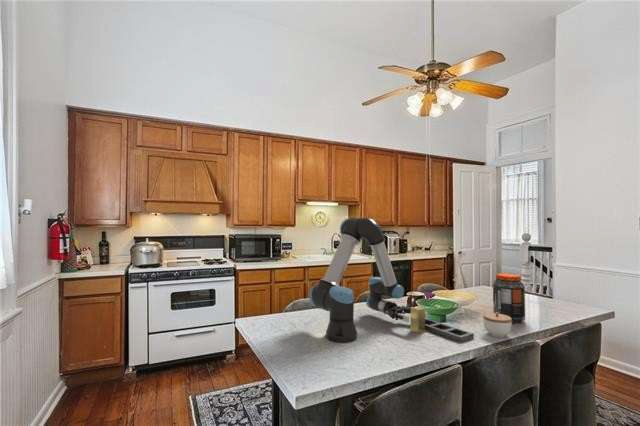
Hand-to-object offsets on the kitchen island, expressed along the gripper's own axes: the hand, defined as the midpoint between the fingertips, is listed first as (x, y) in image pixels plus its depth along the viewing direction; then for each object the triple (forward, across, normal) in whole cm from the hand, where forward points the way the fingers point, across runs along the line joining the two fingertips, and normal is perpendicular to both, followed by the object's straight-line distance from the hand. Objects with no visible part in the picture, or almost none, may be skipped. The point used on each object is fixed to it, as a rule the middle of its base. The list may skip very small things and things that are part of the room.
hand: (417, 317), depth 164 cm
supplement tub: (+15, -59, -7) cm, 61 cm away
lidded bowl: (+25, -29, -7) cm, 39 cm away
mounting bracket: (-29, -38, -8) cm, 48 cm away
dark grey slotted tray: (+8, -9, -7) cm, 14 cm away
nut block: (+1, +1, -7) cm, 7 cm away
